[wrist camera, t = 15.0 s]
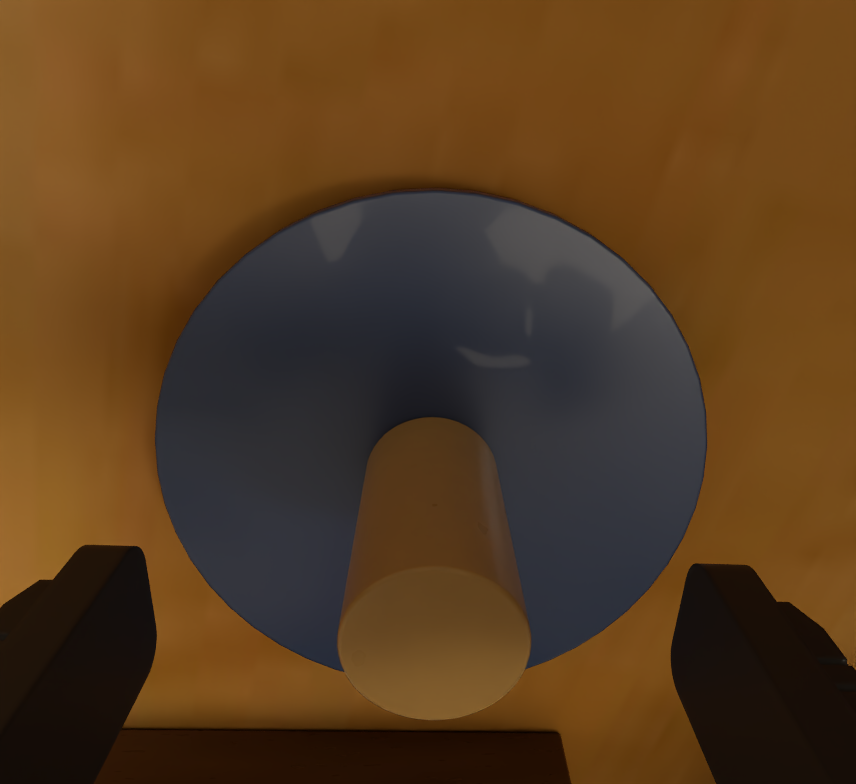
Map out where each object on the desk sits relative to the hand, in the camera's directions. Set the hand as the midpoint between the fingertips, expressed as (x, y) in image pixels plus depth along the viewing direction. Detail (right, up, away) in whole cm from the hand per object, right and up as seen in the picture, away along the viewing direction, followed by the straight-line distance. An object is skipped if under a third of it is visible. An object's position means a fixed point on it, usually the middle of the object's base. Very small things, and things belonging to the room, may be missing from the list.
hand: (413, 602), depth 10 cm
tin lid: (0, +1, +6) cm, 6 cm away
